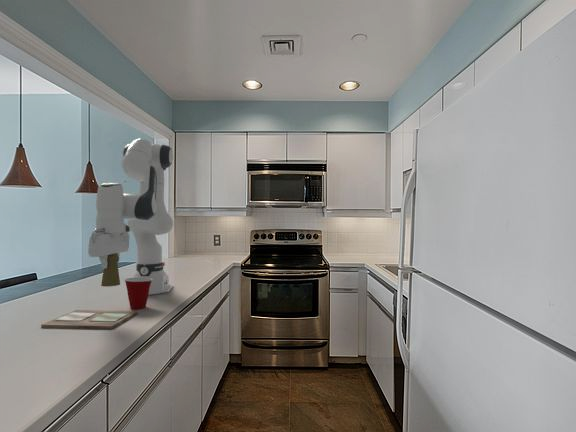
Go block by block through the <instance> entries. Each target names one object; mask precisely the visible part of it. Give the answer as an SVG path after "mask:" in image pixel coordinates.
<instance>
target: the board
mask: <svg viewBox="0 0 576 432" xmlns="http://www.w3.org/2000/svg"><path fill="white" fill-rule="evenodd" d="M137 315H139V312H138V311H136V310H135V311H134V310H98V309H97V310H96V309H95V310H92V309H90V310H89V309H76V310H73V311H71V312H69V313H65V314H63V315H61V316H59V317H56V318H54V319H52V320H49V321H47V322H45V323H42V324H41V325H40V327H41V328H42V329H44V328H45V329H46V328H48V329H78V330H79V329H81V330H82V329H84V330H85V329H86V330H89V329H90V330H113V329H115V328H117V327H119V326H121V324H124V323H125V322H127V321H128V320H131V319H132V318H134V317H135V316H137Z"/></svg>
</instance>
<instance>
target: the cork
mask: <svg viewBox="0 0 576 432" xmlns="http://www.w3.org/2000/svg"><path fill="white" fill-rule="evenodd" d="M119 261H120V256H118V255H117V254H111V255H108V258H107V262H108V263H109V267H108V268H103V273H102V277H101V278H102V279H101V284H100V286H101V287H108V288H109V287H118V286H120V285H121V280H120V271H119V265H118V264H117V263H119Z"/></svg>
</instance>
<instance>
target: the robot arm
mask: <svg viewBox="0 0 576 432" xmlns="http://www.w3.org/2000/svg"><path fill="white" fill-rule="evenodd" d="M122 154H123V155H122V156H123V157H122V161H121V166H122V170H123V173H125V174H126V175H127V176H128V177H130V178H131V179H133V180H135V181H140V182H139V193H124V188H123V184H121V183H120V182H104V183H101V184H99V185H98V188H97V192H96V204H95V206H96V212H97V213H96V218H95V219H96V220H95V229H94V230H93V232H91V235H90V237H89V243H88V251H87V254H88V256H89V258H90V257H91V258H99V259H98V260H99V262H100V263H101V269H104V268H108V267H109V263H108V262H107V258H108V255H111V254H117V255H118V256H119V257H120V256H121V255H120V253H124V252H128V250H129V248H130V234H129V233H130V232H131V233H132V234H133V237H134V239H135V243H136V247H137V248H136V249H137V254H136V255H137V263H136V273H134V275H133V278H152V279H153V280H152V282H151V284H150V288H149V294H148V296H149V295H150V296H151V295H157V294H162V293H163V294H165V293H170V291H171V290H172V289H173V288H174V284H172V283H171V284H170V282H169V281H170V280H169V279H170V278H169V275H168V274H167V273H166V271H164V266H165V265H166V264H165V263H166V262H165V261H163V260H162V259H163V255H162V254H163V248H162V245H161V244H160V243H159V241H158V240H157V237H156V236H159V235H160V236H162V235H165V234H168V233H169V232H171V231H172V229H173V226H174V221H173V217H172V216H171V215H170V214H169V213H168V211H167V209H166V205H165V204H166V203H165V171H166V169H167V168H169V167H170V166H171V165H172V163H173V161H174V153H173V149H172V148H171V146H169V145H167V144H157V143H152V142H151V141H149V140H147V139H145V138H137V139H135V140H133V141H132V142H131V143H127V144H126V145H125V146H124V148H123V151H122ZM125 220H127V223H125ZM118 263H119V262H118ZM118 263H117V264H118Z"/></svg>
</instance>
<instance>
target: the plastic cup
mask: <svg viewBox="0 0 576 432" xmlns="http://www.w3.org/2000/svg"><path fill="white" fill-rule="evenodd" d="M123 280H124V283H125V285H126V291H127V299H128V302H129V308H130V309H131V310H142V309H145V308H146V307H147V303H148V299H149V295H148V294H149V288H150V284H151V282H152V280H153V279H152V278H134V277H127V278H124V279H123Z"/></svg>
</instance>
